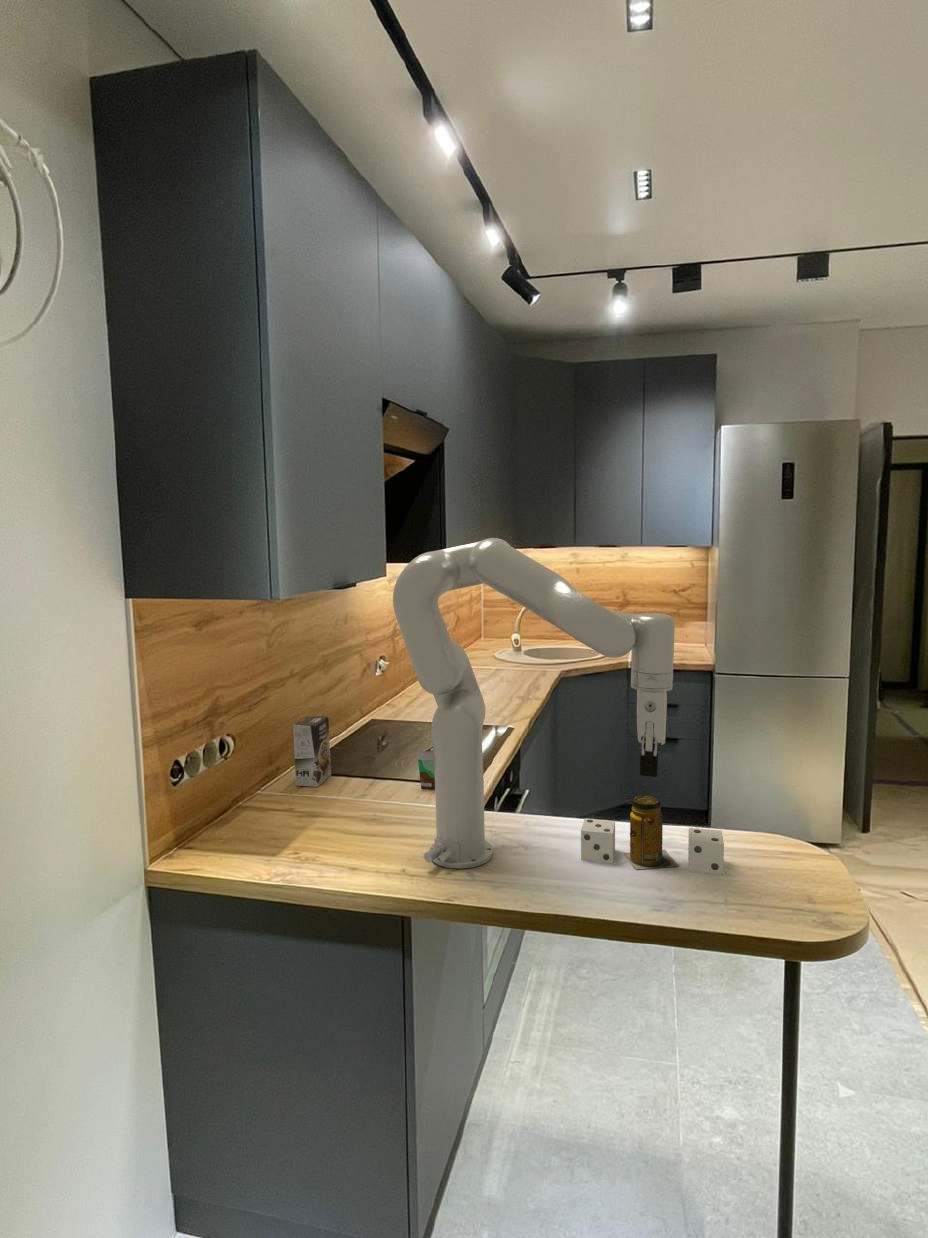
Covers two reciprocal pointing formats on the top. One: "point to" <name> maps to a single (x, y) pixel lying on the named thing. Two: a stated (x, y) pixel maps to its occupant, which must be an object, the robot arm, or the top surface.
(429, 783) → the food container
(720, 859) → the two dot block
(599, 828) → the three dot block
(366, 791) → the top surface
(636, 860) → the condiment
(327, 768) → the coffee box
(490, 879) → the top surface
